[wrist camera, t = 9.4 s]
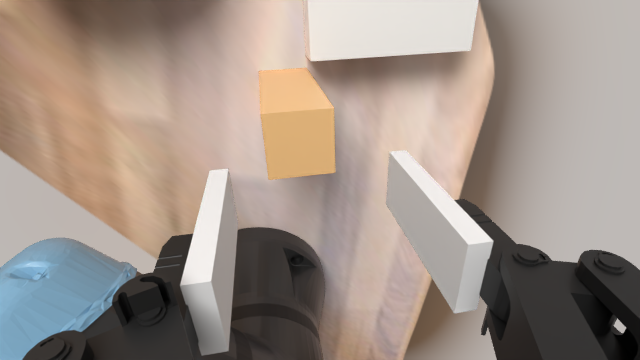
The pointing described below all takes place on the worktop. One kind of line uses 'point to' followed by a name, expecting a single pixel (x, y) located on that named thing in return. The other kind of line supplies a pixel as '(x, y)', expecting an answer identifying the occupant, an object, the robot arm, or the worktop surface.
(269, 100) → the plug
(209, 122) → the worktop surface
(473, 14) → the socket board
